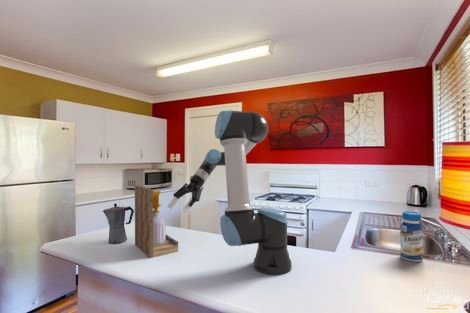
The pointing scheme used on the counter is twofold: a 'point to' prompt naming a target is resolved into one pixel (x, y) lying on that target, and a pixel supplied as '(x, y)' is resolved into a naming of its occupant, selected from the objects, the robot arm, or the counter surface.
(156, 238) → the soap bottle
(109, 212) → the moka pot
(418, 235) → the beverage bottle
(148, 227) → the cleat shelf
